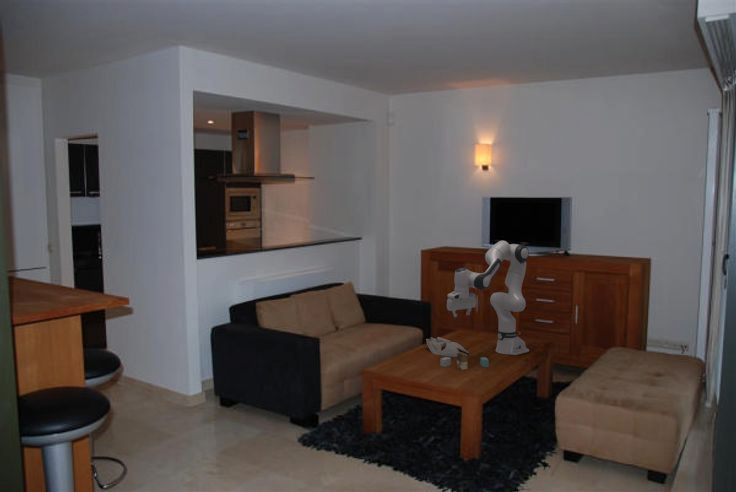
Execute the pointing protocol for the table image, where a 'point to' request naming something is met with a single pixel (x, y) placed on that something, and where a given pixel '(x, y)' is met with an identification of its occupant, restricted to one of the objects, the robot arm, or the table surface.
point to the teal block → (484, 362)
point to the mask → (450, 347)
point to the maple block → (462, 365)
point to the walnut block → (462, 357)
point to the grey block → (445, 361)
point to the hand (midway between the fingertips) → (461, 315)
